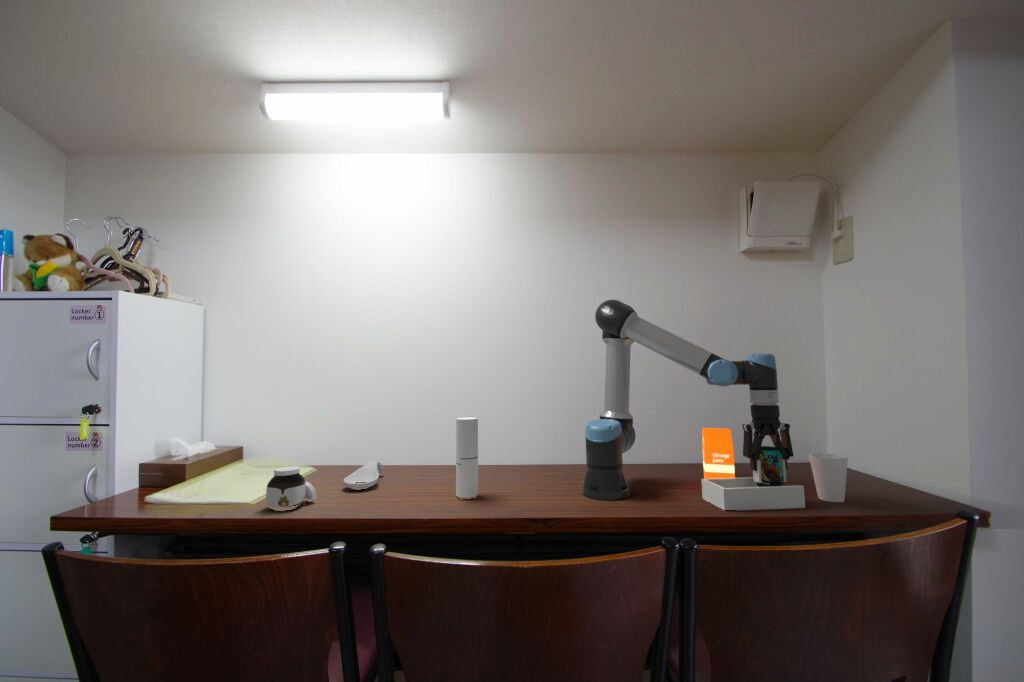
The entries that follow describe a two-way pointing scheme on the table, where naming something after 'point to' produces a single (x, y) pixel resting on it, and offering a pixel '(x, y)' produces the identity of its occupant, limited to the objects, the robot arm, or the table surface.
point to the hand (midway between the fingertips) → (769, 481)
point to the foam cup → (829, 475)
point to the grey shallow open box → (750, 494)
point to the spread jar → (288, 488)
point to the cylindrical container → (466, 457)
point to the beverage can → (771, 467)
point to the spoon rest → (364, 475)
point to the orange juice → (717, 453)
